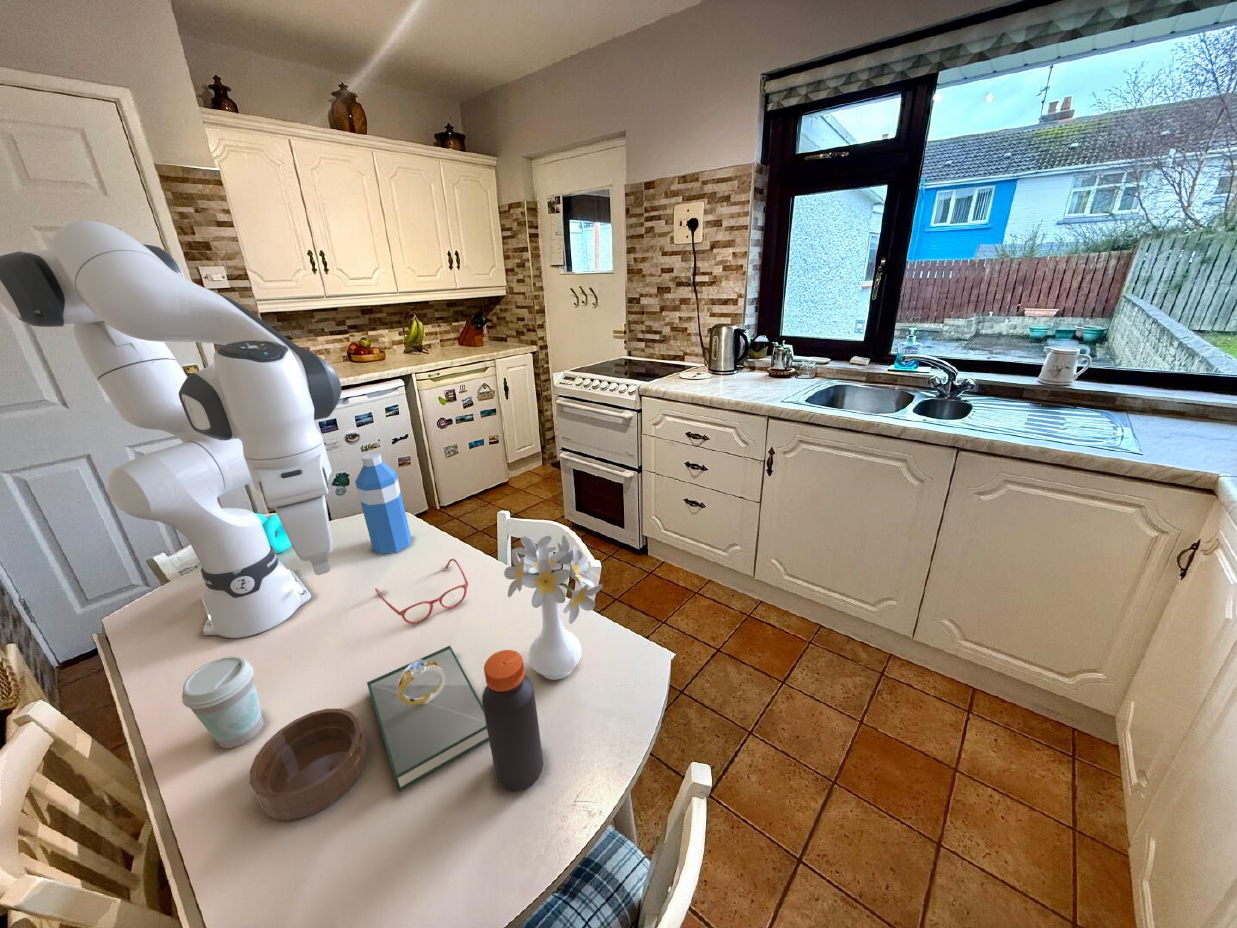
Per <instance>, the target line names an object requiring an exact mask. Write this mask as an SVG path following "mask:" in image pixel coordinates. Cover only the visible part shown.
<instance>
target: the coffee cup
mask: <svg viewBox="0 0 1237 928" xmlns="http://www.w3.org/2000/svg"><path fill="white" fill-rule="evenodd" d="M254 673H255V668H254V666H253V665H252V664H251V663H250V662H249V661H247V660H246V659H244V658H243V657H241V656H237V655H230V656H224V657H220V658H217V659H214V660H212V661H210V662H207V663H205V664H204V665H202V666H200V667H199V668H198V669H196V670H195V671H193V672H192V673H191V674H190V675H189V676H188V677H187V678H186V680H185V681H184V683H183V685H182V693H181V700H182V704H183V706H185V707H186V708H188V709H190V710H191V712H192V713H193V714H194V715H195V717H196V718H197V719H198V720H199V721H200V722H201V724H202V725H203V727H204V728H205V729H206V730H207V732H208V733H209V735H211V737H212V738H213V739H214V740H215V742H216V743H217V745H219V747H220V748H223V749H234V748H236V747H239V746H242V745H244V744H246V743H247V742H249V741H250V740H252V739H253V738H254V737H256V735H258V733H259V732H260V731H261V730H262V728H263V726H264V718H263V713H262V709H261V703H260V700H259V697H258V696H259V695H258V692H257V687H256V685H255V680H254Z"/></svg>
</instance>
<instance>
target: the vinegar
mask: <svg viewBox="0 0 1237 928" xmlns="http://www.w3.org/2000/svg"><path fill="white" fill-rule="evenodd" d="M524 665H525V664H524V659H523V656H522V654H521V653H519V652H518V651H516V650H513V649H504V650H499V651H497V652H495V653H493V654H491V655H490V656H489V657H488V658H487V659H486V661H485V662H484V665H483V672H484V677H485V683H486V686H485V687H484V690H483V692H482V695H481V704H482V706H483V710H484V716H485V721H486V726H487V732H488V737H489V740H488V742H489V747H490V753H491V759H492V764H493V769H494V773H495V777H496V780H497V782H498V784H499V785H500V786H501V787H502V788H503V789H505V790H508V791H512V792H513V791H515V792H518V791H523V790H527V788H530V787H531V786H533V785H534V784H535V782H536V781H538V779H539V778H540V776H541V774H542V773H543V768H544V757H543V750H542V741H541V734H540V726H539V720H538V717H539V716H538V710H537V703H536V696H535V695H536V694H535V687H534V683H533V682H532V680H531V678H530V677H528V676H527V675H526V674H525V666H524Z"/></svg>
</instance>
